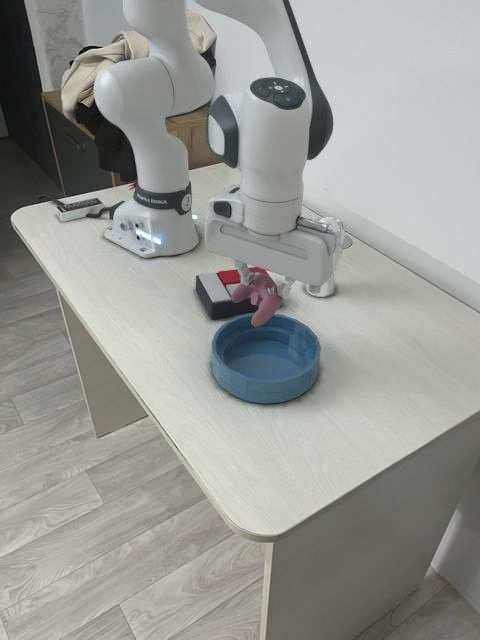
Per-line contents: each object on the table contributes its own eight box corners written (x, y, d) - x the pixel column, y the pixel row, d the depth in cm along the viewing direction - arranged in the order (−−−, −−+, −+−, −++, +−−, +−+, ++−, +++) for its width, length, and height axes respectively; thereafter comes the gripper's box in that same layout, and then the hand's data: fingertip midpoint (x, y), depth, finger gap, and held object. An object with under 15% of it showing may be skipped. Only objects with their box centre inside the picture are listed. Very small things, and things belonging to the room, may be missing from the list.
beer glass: (334, 300, 111) (344, 235, 102) (301, 295, 112) (308, 230, 103) (337, 282, 117) (347, 218, 107) (305, 278, 117) (313, 214, 108)
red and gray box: (284, 291, 107) (211, 301, 101) (281, 309, 109) (210, 319, 104) (264, 263, 114) (195, 271, 109) (262, 281, 117) (195, 289, 112)
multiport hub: (105, 212, 137) (104, 203, 136) (62, 222, 132) (60, 213, 131) (98, 205, 140) (97, 197, 139) (56, 215, 135) (54, 206, 134)
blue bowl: (191, 379, 91) (190, 356, 88) (245, 323, 104) (245, 301, 101) (289, 419, 85) (291, 397, 82) (333, 354, 98) (336, 333, 95)
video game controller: (275, 331, 87) (291, 292, 84) (251, 328, 84) (267, 288, 81) (250, 303, 94) (264, 266, 91) (227, 299, 91) (241, 261, 89)
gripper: (347, 218, 75) (333, 300, 84) (220, 183, 81) (220, 262, 90) (329, 237, 70) (317, 321, 79) (197, 198, 77) (199, 280, 86)
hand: (264, 289), depth 85 cm, fingers closed on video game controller, 5 cm apart
